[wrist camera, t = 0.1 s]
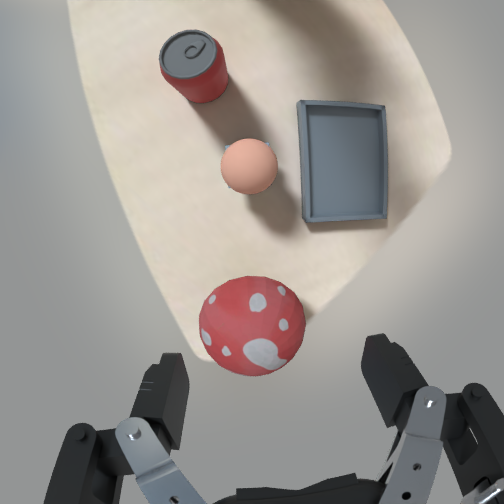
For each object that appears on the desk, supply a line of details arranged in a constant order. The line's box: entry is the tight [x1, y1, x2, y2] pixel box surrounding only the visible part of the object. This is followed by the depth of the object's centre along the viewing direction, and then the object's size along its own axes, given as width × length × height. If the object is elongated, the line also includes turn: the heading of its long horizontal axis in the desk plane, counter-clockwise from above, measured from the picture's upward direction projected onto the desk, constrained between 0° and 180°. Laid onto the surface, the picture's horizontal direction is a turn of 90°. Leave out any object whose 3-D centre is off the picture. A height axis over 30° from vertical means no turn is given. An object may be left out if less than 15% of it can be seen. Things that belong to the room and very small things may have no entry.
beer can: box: [159, 30, 228, 103], centre depth 26 cm, size 7×7×12 cm
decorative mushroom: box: [199, 276, 306, 376], centre depth 36 cm, size 13×13×15 cm
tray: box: [297, 100, 388, 223], centre depth 35 cm, size 16×12×2 cm
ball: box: [221, 139, 278, 194], centre depth 29 cm, size 6×6×6 cm
